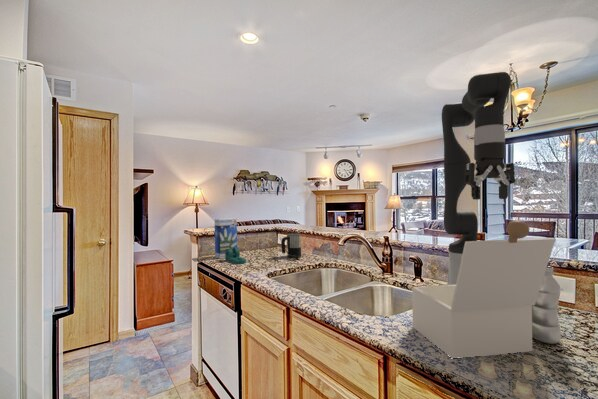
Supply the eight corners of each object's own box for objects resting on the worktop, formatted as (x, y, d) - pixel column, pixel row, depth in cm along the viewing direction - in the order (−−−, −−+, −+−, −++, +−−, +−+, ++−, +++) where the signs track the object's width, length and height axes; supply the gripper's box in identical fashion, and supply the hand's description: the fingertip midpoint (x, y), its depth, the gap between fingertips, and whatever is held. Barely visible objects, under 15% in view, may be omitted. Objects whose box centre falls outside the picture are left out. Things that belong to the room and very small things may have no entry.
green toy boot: (225, 260, 190) (225, 248, 190) (235, 258, 194) (234, 246, 194) (237, 265, 175) (237, 251, 175) (248, 263, 180) (247, 250, 180)
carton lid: (467, 218, 65) (480, 225, 61) (555, 216, 68) (573, 222, 64) (448, 307, 72) (459, 318, 68) (529, 301, 75) (544, 311, 71)
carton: (412, 327, 89) (412, 287, 89) (478, 321, 92) (478, 283, 92) (451, 359, 71) (451, 309, 71) (532, 351, 74) (531, 303, 74)
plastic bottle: (545, 334, 83) (544, 263, 82) (568, 346, 76) (567, 269, 76) (523, 335, 82) (522, 263, 82) (543, 347, 76) (543, 269, 76)
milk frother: (296, 254, 205) (295, 232, 205) (311, 257, 192) (310, 235, 192) (279, 257, 196) (278, 234, 196) (293, 261, 183) (293, 237, 183)
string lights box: (219, 259, 193) (218, 219, 193) (214, 257, 199) (213, 219, 199) (237, 256, 202) (237, 218, 201) (232, 254, 207) (231, 217, 207)
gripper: (500, 145, 90) (501, 198, 90) (457, 145, 88) (458, 199, 88) (522, 140, 83) (523, 198, 83) (476, 140, 81) (477, 199, 81)
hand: (489, 199), depth 85 cm, fingers open, 8 cm apart
